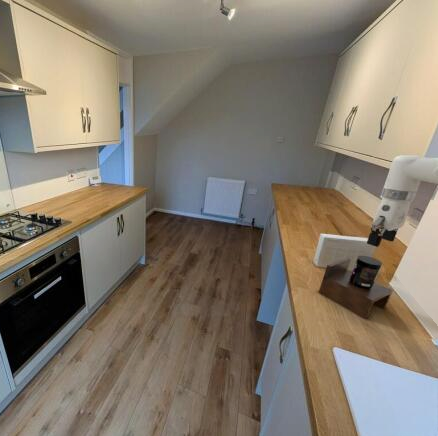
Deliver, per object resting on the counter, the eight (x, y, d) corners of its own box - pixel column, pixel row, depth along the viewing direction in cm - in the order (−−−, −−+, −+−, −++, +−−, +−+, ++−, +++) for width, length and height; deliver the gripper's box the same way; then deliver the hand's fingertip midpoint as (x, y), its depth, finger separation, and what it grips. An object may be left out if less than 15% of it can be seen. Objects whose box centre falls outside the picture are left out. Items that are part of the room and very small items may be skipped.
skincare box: (361, 267, 115) (372, 238, 109) (367, 273, 110) (379, 243, 105) (311, 261, 120) (320, 232, 115) (315, 266, 115) (324, 237, 110)
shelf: (385, 307, 89) (398, 278, 84) (365, 319, 83) (378, 288, 79) (338, 284, 103) (347, 257, 98) (318, 292, 97) (327, 265, 92)
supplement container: (365, 280, 92) (374, 256, 88) (376, 291, 85) (387, 266, 82) (345, 277, 93) (353, 254, 89) (355, 288, 87) (364, 263, 83)
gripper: (400, 200, 70) (380, 252, 76) (425, 194, 77) (406, 242, 83) (369, 194, 77) (353, 242, 82) (395, 189, 83) (379, 234, 89)
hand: (379, 242), depth 83 cm, fingers open, 9 cm apart
